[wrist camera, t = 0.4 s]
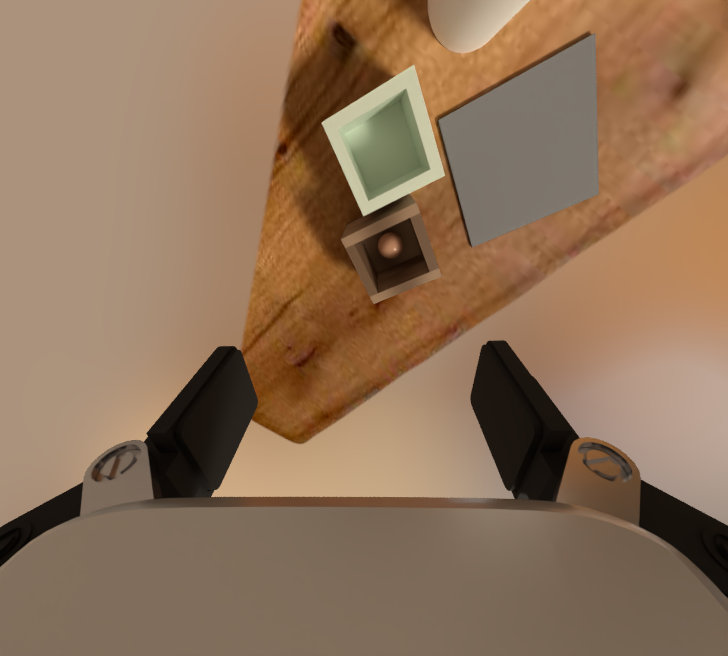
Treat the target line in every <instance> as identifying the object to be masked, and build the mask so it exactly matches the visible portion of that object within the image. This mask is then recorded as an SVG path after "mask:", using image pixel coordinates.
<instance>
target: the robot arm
mask: <svg viewBox="0 0 728 656" xmlns="http://www.w3.org/2000/svg"><path fill="white" fill-rule="evenodd" d="M257 404H258V399H257V396H256V393H255V390H254V387H253V384H252V381H251V378H250V376H249V373H248V370H247V367H246V364H245V361H244V358H243V355H242V353H241V351H240V350H237V348H236V347H234V346H220V347H218V348H217V349H216V350H215V351H214V352H213V353H212V355H211V356H210V357H209V358H208V360H207V361H206V362H205V363H204V364H203V365H202V367H201V368H200V369H199V370H198V372H197V373H196V374H195V375H194V376H193V378H192V379H191V380H190V381H189V382H188V384H187V385H186V386H185V387H184V388H183V390H182V391H181V392H180V394H179V395H178V396H177V397H176V398H175V399H174V401H173V402H172V403H171V404H170V406H169V407H168V408H167V409H166V410H165V411H164V413H163V414H162V415H161V416H160V418H159V419H158V420H157V421H156V422H155V424H154V425H153V426H152V427H151V429H150V430H149V431H148V432H147V435H148V437H147V439H146V440H145V441H144V442H142V441H140V440H131V441H126V442H123V443H121V444H118V445H116V446H114V447H112V448H110V449H108V450H107V451H106V452H104V453H103V454H101V455H100V456H99V457H98V458H97V459H96V460H95V461H94V462H93V463H92V464H91V465H90V466H89V468H88V469H87V471H86V473H85V476H84V481H83V482H82V483H81V484H79V485H77V486H75V487H73V488H71V489H69V490H68V491H66V492H64V493H62V494H60V495H58V496H57V497H55V498H53V499H51V500H49V501H47V502H46V503H44V504H42V505H40V506H38V507H36V508H34V509H33V510H31V511H29V512H27V513H25V514H23V515H21V516H20V517H18V518H16V519H14V520H12V521H10V522H8V523H7V524H5V525H3V526H2V527H0V656H728V526H727V525H725V524H724V523H722V522H720V521H718V520H716V519H714V518H712V517H710V516H708V515H706V514H705V513H703V512H701V511H699V510H697V509H695V508H693V507H691V506H690V505H688V504H686V503H684V502H682V501H680V500H678V499H676V498H674V497H673V496H671V495H669V494H667V493H665V492H663V491H661V490H659V489H658V488H655V487H654V486H652V485H650V484H648V483H646V482H644V481H642V480H641V477H640V472H639V470H638V468H637V466H636V465H635V463H634V462H633V461H632V460H631V459H630V458H629V457H628V456H627V455H626V454H625V453H623V452H622V451H621V450H619V449H618V448H616V447H615V446H613V445H611V444H609V443H607V442H604V441H601V440H599V439H595V438H589V437H586V438H579V437H578V435H577V434H576V433H575V431H574V430H573V428H572V427H571V426H570V424H569V423H568V422H567V420H566V419H565V418H564V416H563V415H562V414H561V412H560V411H559V410H558V408H557V407H556V406H555V404H554V403H553V402H552V400H551V399H550V398H549V396H548V395H547V394H546V392H545V391H544V390H543V388H542V387H541V386H540V384H539V383H538V382H537V380H536V379H535V378H534V377H533V376H531V374H530V373H529V372H528V370H527V369H526V368H525V366H524V365H523V364H522V362H521V361H520V360H519V358H518V357H517V356H516V354H515V353H514V351H513V350H512V349H511V347H510V346H509V345H508V343H507V342H506V341H488V342H487V344H486V345H483V346H482V348H481V352H480V356H479V361H478V365H477V370H476V374H475V379H474V384H473V388H472V392H471V404H472V407H473V410H474V412H475V415H476V417H477V419H478V422H479V424H480V427H481V429H482V432H483V434H484V437H485V439H486V442H487V444H488V446H489V449H490V451H491V454H492V456H493V458H494V460H495V463H496V466H497V468H498V471H499V473H500V476H501V478H502V481H503V483H504V485H505V487H506V489H507V490H508V491H512V493H513V496H514V498H515V499H494V498H493V499H492V498H427V497H211V496H212V493H213V492H214V490H217V489H218V488H219V487H220V485H221V483H222V480H223V478H224V476H225V474H226V472H227V470H228V468H229V466H230V464H231V461H232V459H233V457H234V455H235V453H236V451H237V448H238V446H239V444H240V442H241V440H242V438H243V436H244V433H245V431H246V429H247V427H248V425H249V423H250V421H251V419H252V416H253V414H254V412H255V410H256V408H257Z"/></svg>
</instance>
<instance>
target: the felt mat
mask: <svg viewBox="0 0 728 656" xmlns="http://www.w3.org/2000/svg"><path fill="white" fill-rule="evenodd" d="M438 123H439V127H440V131H441V134H442V138H443V142H444V146H445V149H446V153H447V157H448V161H449V164H450V168H451V172H452V176H453V179H454V183H455V187H456V191H457V194H458V198H459V202H460V206H461V209H462V213H463V217H464V221H465V224H466V228H467V232H468V236H469V240H470V243H471V247H474V246H477V245H479V244H481V243H484V242H486V241H489V240H491V239H493V238H496V237H498V236H500V235H503V234H505V233H508V232H510V231H512V230H515V229H517V228H519V227H522V226H524V225H527V224H529V223H531V222H534V221H536V220H538V219H541V218H543V217H546V216H548V215H550V214H553V213H555V212H558V211H560V210H562V209H565V208H567V207H569V206H572V205H574V204H577V203H579V202H581V201H584V200H586V199H588V198H591V197H593V196H596V195H598V194H599V187H598V139H597V91H596V42H595V33H594V34H592V35H590V36H589V37H587V38H585V39H583V40H581V41H580V42H578V43H576V44H574V45H573V46H571V47H569V48H567V49H565V50H564V51H562V52H560V53H558V54H556V55H555V56H553V57H551V58H549V59H547V60H546V61H544V62H542V63H540V64H538V65H537V66H535V67H533V68H531V69H529V70H528V71H526V72H524V73H522V74H520V75H519V76H517V77H515V78H513V79H511V80H510V81H508V82H506V83H504V84H502V85H501V86H499V87H497V88H495V89H493V90H492V91H490V92H488V93H486V94H484V95H483V96H481V97H479V98H477V99H476V100H474V101H472V102H470V103H468V104H467V105H465V106H463V107H461V108H459V109H458V110H456V111H454V112H452V113H450V114H449V115H447V116H445V117H443V118H441V119H440V120H438Z"/></svg>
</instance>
